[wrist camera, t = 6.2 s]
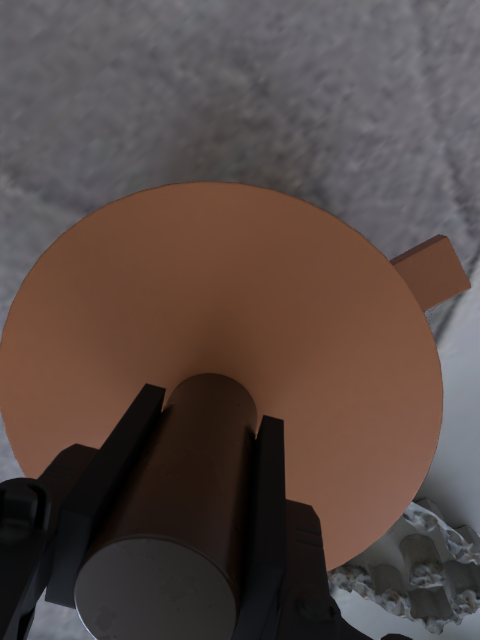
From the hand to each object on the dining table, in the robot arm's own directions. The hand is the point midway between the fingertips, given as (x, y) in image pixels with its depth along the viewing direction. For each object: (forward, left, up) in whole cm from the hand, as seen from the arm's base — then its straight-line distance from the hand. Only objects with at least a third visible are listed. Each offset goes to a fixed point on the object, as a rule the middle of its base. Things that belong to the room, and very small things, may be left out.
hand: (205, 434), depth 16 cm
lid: (0, 0, -2) cm, 2 cm away
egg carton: (+14, -11, -12) cm, 22 cm away
